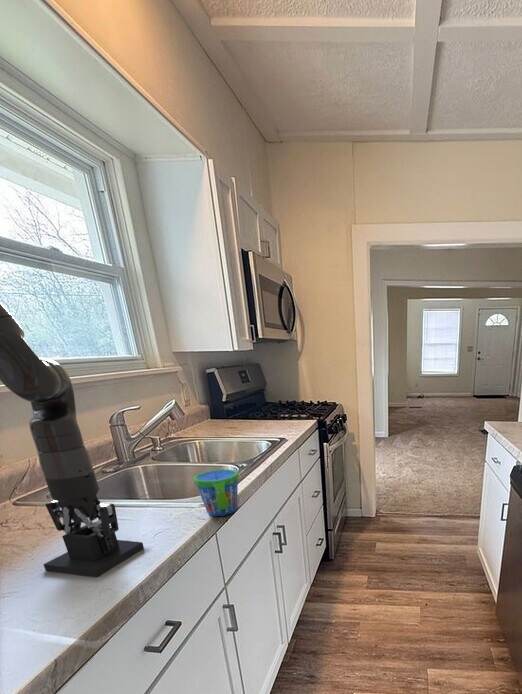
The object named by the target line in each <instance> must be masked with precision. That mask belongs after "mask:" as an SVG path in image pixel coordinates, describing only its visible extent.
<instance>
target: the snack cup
mask: <svg viewBox="0 0 522 694" xmlns="http://www.w3.org/2000/svg"><path fill="white" fill-rule="evenodd" d="M239 477H240V475H239V472H238V471H236V470H234V469H214V470H213V469H212V470H207V471H204V472H200V473H198V474H196V475H195V476H193V482H194V484H195V486H196V487H197V490H198V493H199V495H200V498H201V500H202V503H203V506H204V508H205V511H206V513H207V514H208V515H209V516H211V517H212V516H213V517H224V516H228V515H231V514H232V513H233V514H234V513H235V512H237V511H238V503H239V502H238V496H239V495H238V492H239V491H238V489H239V488H238V485H239V484H238V481H239Z"/></svg>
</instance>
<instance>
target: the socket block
mask: <svg viewBox="0 0 522 694" xmlns="http://www.w3.org/2000/svg"><path fill="white" fill-rule="evenodd" d="M98 527H99V528H100V530H103V528H102V526H101V525H98ZM109 527H111V525H109ZM61 537H62V540H63V542H64V546H65V548H66V552H68V554H69V557H70V558H71V559H79V560H88V561H97V560H98V559H100V558H102V557H103V556H105V555H107V554H109V553H110V552H109V553H107V554H103V553H102V552H101V549H100V545H99V542H98V539H97V538H98V537H97V535H96V534H95V533H94V531H93V530H92V529H89V528H88V527H87V526H86V524H84V525H83V526H81V528H78V529H76V530H74V531H72V532H70V533H68V534H66V533H65V534H63V535H62V536H61ZM111 538H112V541H113V545H114V549H113V551H114V550H116V549H117V548H119V544H118V541H117V540H118V539H117V535H116V532H114V533H112V534H111ZM111 552H112V551H111Z"/></svg>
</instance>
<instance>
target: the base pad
mask: <svg viewBox="0 0 522 694" xmlns="http://www.w3.org/2000/svg"><path fill="white" fill-rule="evenodd" d="M117 541H118V544H119V548H117V549H116V550H114V551H112V552H110V553H109V554H107V555H105V556H103V557H102V558H100V559H98V560H97V561H88V560H79V559H71V558H70V557H69V554H68V551H66V552H65V553H63V554H61V555H59V556H57V557H55V558H53V559H50V560H49V561H47V562H45V563H43V564H42V565H43V568H44V571H46V572H52V573H59V574H67V575H68V574H69V575H77V576H83V577H91V578H98V577H100V576H101V575H103V574H105V573H106V572H108V571H110V570H112V569H113V568H115V567H116V566H118V565H120V564H122V563H123V562H124V561H126V560H128V559H129V558H131V557H132V556H135V554H138V553H139V552H141V551H142V550H143V549H145V547H144V543H143V542H141V541H133V540H123V539H117Z"/></svg>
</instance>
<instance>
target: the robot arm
mask: <svg viewBox="0 0 522 694" xmlns="http://www.w3.org/2000/svg"><path fill="white" fill-rule="evenodd" d="M24 337H25V331H24V329H23V328H22V326H21V325H20V324H19V322H18V321H17V320H16V319H15V317H14V316H13V315H12V313H10V312H9V310H8V309H7V308H6V307H5V306H4V305H3V304H2V303H1V302H0V382H1V383H2V385H4V387H6V388H7V389H8V391H10V392H11V393H12V394H13V395H15V396H17V397H18V398H20V399H22V400H24V401H26V402H30V405H31V410H32V416H31V418H30V419H29V421H28V427H29V432H30V434H31V437H32V441H33V443H34V446H35V449H36V452H37V457H38V462H39V466H40V468H41V473H42V475H43V477H44V481H45V483H46V486H47V489H48V491H49V495H50V497H51V498H52V501H48V502H47V503H45V507H46V510H47V512H48V513H49V516H50V518H51V520H52V522H53V525H54V526H55V528H56V530H57V531H59V532H61V531H63V532H64V533H65V534H68V533H70V532H72V531H74V530H76V529H78V528H81V527H82V523H83V524H84V525H86V526H87V527H88V528H89V529H92V530H93V531H94V533H95V534H96V535H97V537H98V538H97V539H98V542H99V545H100V549H101V552H102V553H103V554H107V553H109V552H111V551H113V549H114V545H113V541H112V538H111V534H112V533H114V532H115V533H116V532H118V531H119V522H118V516H117V510H116V506H115V504H114V503H109V504H105V503H101V501H100V500H99V498H98V493H99V491H100V486H99V483H98V480H97V476H96V474H95V471H94V470H95V469H94V466H93V463H92V460H91V456H90V455H89V452H88V450H87V448H86V445H85V442H84V439H83V436H82V435H83V434H82V433H81V429H80V426H79V424H78V421H77V408H76V400H75V399H76V398H75V392H74V387H73V383H72V380H71V378H70V376H69V374H68V372H67V371H66V369H65V368H64V367H63V366H62V365H61V364H60V363H58V362H56V361H55V360H53V359H50V358H46V357H39V356H38V355H37V354H36V352H35V351H34V350H33V349H32V348H31V347H30V345H29V344H28V342H26V340H25V339H24ZM61 518H62V521H61ZM97 519H98V520H97ZM95 520H97V521H95ZM98 525H101V526H102V528H103V530H100V528H99V527H98ZM109 526H111V527H109Z"/></svg>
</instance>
